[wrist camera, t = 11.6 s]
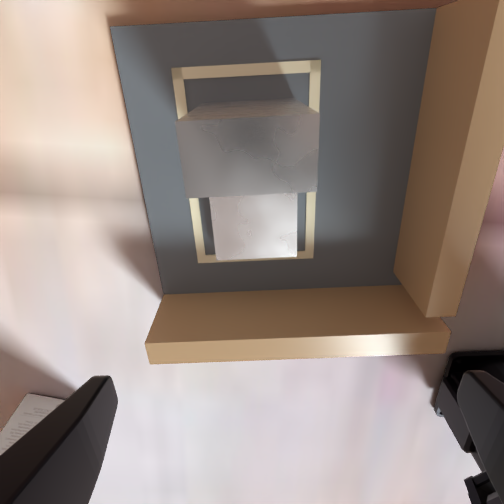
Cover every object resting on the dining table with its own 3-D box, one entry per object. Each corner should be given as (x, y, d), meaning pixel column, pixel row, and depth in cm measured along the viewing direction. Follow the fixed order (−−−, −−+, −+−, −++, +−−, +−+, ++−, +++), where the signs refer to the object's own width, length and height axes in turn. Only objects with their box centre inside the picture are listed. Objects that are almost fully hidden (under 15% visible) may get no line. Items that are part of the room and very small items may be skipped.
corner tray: (464, 8, 16) (549, -18, 11) (407, 299, 23) (445, 353, 19) (113, 28, 16) (60, 11, 11) (169, 308, 23) (149, 364, 19)
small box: (27, 389, 27) (-90, 558, 18) (100, 403, 28) (24, 572, 18) (27, 450, 31) (-71, 617, 21) (92, 461, 31) (24, 627, 22)
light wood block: (293, 244, 21) (312, 319, 14) (218, 248, 21) (204, 324, 14) (294, 98, 17) (319, 113, 11) (202, 103, 17) (174, 121, 11)
